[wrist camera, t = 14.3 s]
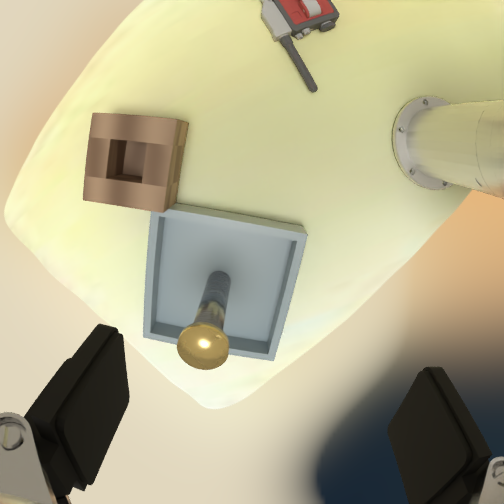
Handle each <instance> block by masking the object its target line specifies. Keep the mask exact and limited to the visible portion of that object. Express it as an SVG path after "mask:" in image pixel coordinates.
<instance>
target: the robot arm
mask: <svg viewBox="0 0 504 504" xmlns="http://www.w3.org/2000/svg"><path fill="white" fill-rule="evenodd" d="M423 103H424V104H423ZM399 128H400V132H399ZM392 140H393V149H394V153H395V157H396V159H397V162H398V164H399V166H400V168H401V169H402V171H403V172H404V174H405V175H406V176H407V177H408V178H409V179H410V180H411V181H413V182H414V183H415V184H417V185H419V186H421V187H424V188H427V189H432V190H440V189H445V188H448V187H450V186H452V185H453V184H457V185H460V186H464V187H467V188H471V189H474V190H477V191H481V192H484V193H487V194H490V195H493V196H496V197H500V198H503V199H504V100H494V101H481V102H471V103H461V104H452V105H451V104H450V103H448V102H447V101H445V100H443V99H441V98H438V97H433V96H425V97H419V98H416V99H414V100H412V101H410V102H408V103H407V104H406V105H405V106H404V107H403V108H402V109H401V111H400V112H399V114H398V116H397V118H396V120H395V124H394V128H393V138H392ZM410 170H411V172H410ZM442 182H443V183H442ZM128 403H129V387H128V379H127V371H126V362H125V352H124V341H123V335H122V334H120V333H118V329H117V328H115V327H111V326H107V325H103V324H98V325H97V326H96V327H95V329H94V330H93V331H92V332H91V334H90V335H89V336H88V337H87V339H86V340H85V341H84V342H83V344H82V345H81V346H80V348H79V349H78V350H77V352H76V353H75V354H74V355H73V357H72V358H69V359H67V360H66V361H65V362H64V363H63V364H62V366H61V367H60V368H59V370H58V371H57V372H56V374H55V375H54V376H53V377H52V379H51V380H50V382H49V383H48V384H47V386H46V387H45V388H44V389H43V391H42V392H41V394H40V395H39V396H38V398H37V399H36V400H35V402H34V403H33V405H32V406H31V407H30V409H29V410H28V412H27V413H26V414H25V416H24V417H22V416H20V415H19V414H15V413H12V412H11V413H9V412H7V413H1V414H0V504H71V502H70V499H69V496H68V495H69V494H70V492H71V490H72V488H73V487H75V488H77V489H80V490H82V491H85V488H86V486H87V484H88V485H92V484H93V483H94V481H95V478H96V476H97V474H98V471H99V469H100V467H101V464H102V462H103V460H104V457H105V455H106V453H107V450H108V448H109V446H110V444H111V441H112V439H113V437H114V434H115V432H116V430H117V428H118V426H119V423H120V421H121V419H122V417H123V415H124V412H125V410H126V408H127V406H128ZM388 436H389V439H390V442H391V445H392V448H393V451H394V455H395V458H396V461H397V464H398V467H399V471H400V474H401V477H402V481H403V484H404V488H405V491H406V495H407V498H408V502H409V504H504V457H497V458H495V459H493V460H492V461H491V462H490V463H489V461H488V458H490V456H491V455H492V452H491V451H490V449H489V447H488V445H487V443H486V441H485V439H484V437H483V436H482V434H481V432H480V430H479V429H478V427H477V425H476V423H475V421H474V420H473V418H472V416H471V414H470V412H469V411H468V409H467V407H466V406H465V404H464V402H463V400H462V399H461V397H460V395H459V394H458V392H457V390H456V389H455V387H454V386H453V384H452V382H451V381H450V379H449V377H448V376H447V374H446V373H445V371H444V369H443V368H442V367H426V368H424V369H423V371H420V372H419V373H418V375H417V377H416V379H415V381H414V382H413V384H412V386H411V388H410V390H409V392H408V393H407V395H406V397H405V399H404V400H403V402H402V404H401V406H400V407H399V409H398V411H397V412H396V414H395V415H394V417H393V419H392V420H391V422H390V424H389V426H388Z"/></svg>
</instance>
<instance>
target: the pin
mask: <svg viewBox="0 0 504 504" xmlns="http://www.w3.org/2000/svg"><path fill="white" fill-rule="evenodd" d="M230 285H231V279H230V277H229V275H228V274H227V273H225V272H223V271H215V272H213V273H211V274H210V275H209V277H208V280H207V283H206V286H205V289H204V292H203V295H202V298H201V301H200V304H199V307H198V310H197V313H196V316H195V319H194V322H193V323H192V324H190V325H188V326H187V327H185V328H184V329H183V330H182V332H181V334H180V337H179V339H178V342H177V350H178V353H179V355H180V357H181V358H182V359H183V361H184V362H186V363H187V364H188V365H190V366H192V367H194V368H197V369H202V370H210V369H214V368H217V367H219V366H221V365H222V364H223V363H224V362H225V361H226V359H227V357H228V353H229V340H228V337H227V335H226V334H225V332H224V331H223V327H224V321H225V315H226V309H227V303H228V297H229V291H230Z"/></svg>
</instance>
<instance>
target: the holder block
mask: <svg viewBox="0 0 504 504" xmlns="http://www.w3.org/2000/svg"><path fill="white" fill-rule="evenodd" d="M188 124H189V123H187V122H184V121H181V120H178V119H170V118H160V117H150V116H139V115H126V114H110V113H93V114H92V120H91V127H90V134H89V141H88V149H87V157H86V167H85V177H84V190H83V200H85V201H92V202H98V203H105V204H111V205H117V206H123V207H129V208H136V209H142V210H148V211H154V212H160V213H164V212H165V211H166V210H168V209H169V208H170V207H171V206H173V205H174V204H175V203H176V199H177V192H178V185H179V178H180V171H181V165H182V159H183V153H184V147H185V141H186V135H187V130H188Z"/></svg>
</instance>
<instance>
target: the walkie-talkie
mask: <svg viewBox="0 0 504 504" xmlns="http://www.w3.org/2000/svg"><path fill="white" fill-rule="evenodd" d="M261 2H262V4H263V8H262V13H261V18H262V20H263V21H264V23H265V24H266V26H267V28H268V29H269V31H270V32H271V34H272V38H273V39H274V41H275V42H276V41H278V40H280V42H281V43H282V45H283V47H285V48H286V50H287V51H288V53H289V55H290V56H291V58H292V60H293V61H294V63H295V65H296V67H297V68H298V70H299V72H300V74H301V75H302V77H303V79H304V81H305V83H306V84H307V86H308V88H309V90H310V91H311V92H316V91H317V89H318V88H317V85H316V84H315V82H314V80H313V78H312V76H311V74H310V73H309V71H308V69H307V67H306V66H305V64H304V62H303V60H302V59H301V57H300V55H299V54H298V52H297V50H296V48H295V47H294V45H293V41H292V40H291V38H290V35H291V36H293V37H295V38H297V39H298V40H299V39H302V38H303V34H304V35H306V34H309V33H310V31H312V30H315V29H318V28H319V29H320V31H322V32H325V31H328V30H330V29H332V28H334V27H335V25H336V24H335V22H336V20H337V19H338V17H339V12H338V11H337V9H336V8H335V6H334V5H333V3H332V2H331V0H261Z"/></svg>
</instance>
